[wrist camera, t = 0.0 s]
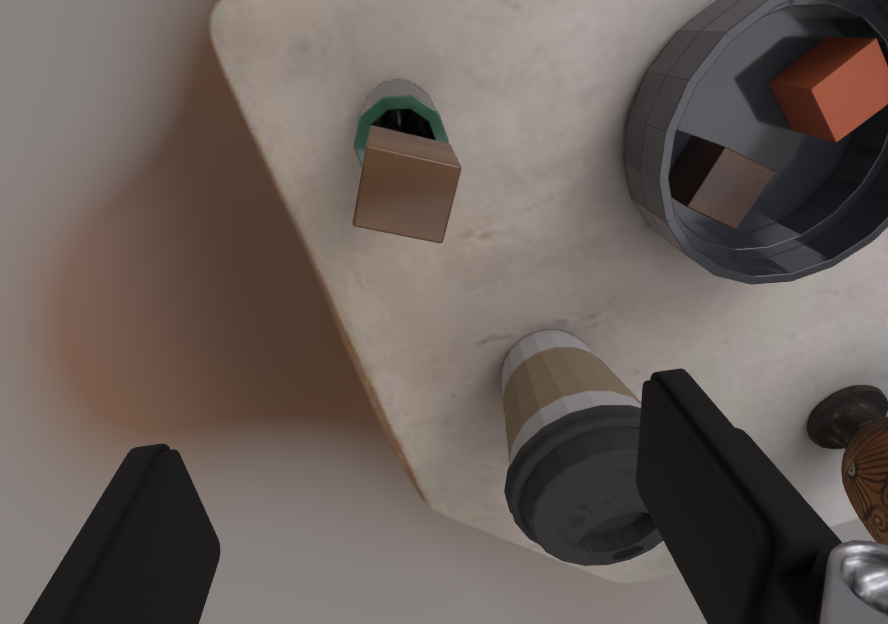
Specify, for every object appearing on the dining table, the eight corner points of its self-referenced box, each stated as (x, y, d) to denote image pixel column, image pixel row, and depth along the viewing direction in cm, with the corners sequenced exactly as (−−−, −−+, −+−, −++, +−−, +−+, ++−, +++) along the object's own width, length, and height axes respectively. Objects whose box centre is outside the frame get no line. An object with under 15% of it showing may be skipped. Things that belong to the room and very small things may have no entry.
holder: (385, 63, 33) (383, 74, 25) (448, 107, 34) (465, 131, 26) (349, 127, 34) (337, 157, 26) (411, 166, 36) (417, 206, 28)
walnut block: (692, 134, 36) (725, 146, 32) (739, 158, 37) (776, 172, 33) (658, 190, 37) (687, 207, 34) (704, 211, 38) (736, 230, 35)
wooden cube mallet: (377, 88, 33) (366, 144, 17) (429, 101, 33) (462, 166, 18) (369, 135, 34) (352, 226, 19) (419, 146, 35) (442, 244, 19)
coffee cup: (504, 440, 47) (548, 600, 34) (454, 339, 42) (483, 482, 29) (628, 392, 46) (724, 539, 33) (592, 281, 41) (689, 404, 28)
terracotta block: (825, 36, 34) (876, 37, 30) (849, 88, 35) (900, 95, 32) (768, 83, 35) (810, 89, 31) (793, 131, 36) (836, 142, 33)
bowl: (761, -89, 31) (838, -113, 26) (926, 90, 36) (1017, 101, 31) (569, 169, 37) (599, 193, 31) (736, 289, 42) (786, 326, 37)
